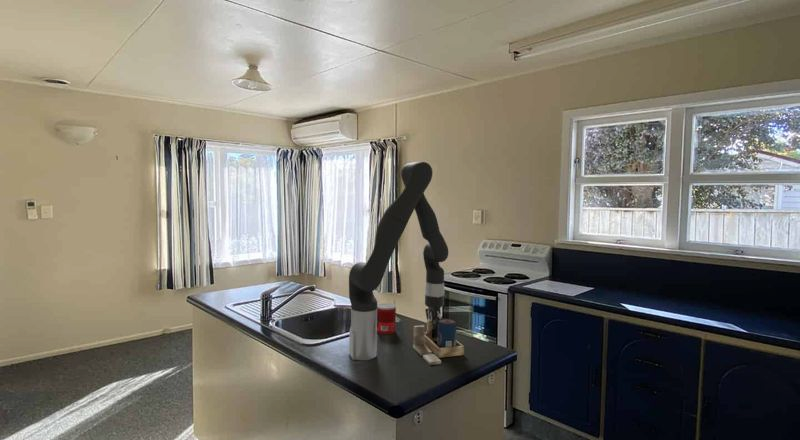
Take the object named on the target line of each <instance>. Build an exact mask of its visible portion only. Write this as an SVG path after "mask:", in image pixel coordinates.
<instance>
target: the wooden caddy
mask: <svg viewBox="0 0 800 440" xmlns="http://www.w3.org/2000/svg"><path fill="white" fill-rule="evenodd" d="M434 324H435V323H434ZM435 342H437V338H432V323H431V319H427V318H426V332H425V334H424V345H425V346H426V347H427V348H428V349H429V350H430V351H431V352H432V354H434V355H436V356H437V357H438V358H439V359H440V358H447V357H448V358H449V357H458V356H464V355H465V346H464V345H463V344H462V343H461V342H459V341H458V340H457V339H456V346H455V347H445V348H439V347H438V346H437V343H435Z"/></svg>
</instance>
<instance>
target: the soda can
mask: <svg viewBox="0 0 800 440" xmlns="http://www.w3.org/2000/svg"><path fill="white" fill-rule="evenodd" d="M456 340H457V323H456V321H455V320H454V319H452V318H443V319H440V320H439V323H438V330H437V341H436V345H437V346H438V347H439V348H445V347H455V346H456Z"/></svg>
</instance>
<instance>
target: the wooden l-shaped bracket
mask: <svg viewBox="0 0 800 440" xmlns="http://www.w3.org/2000/svg"><path fill="white" fill-rule="evenodd" d="M425 331H426V330H425V325H423V324H422V325H414V326H413V345H412V348H413V349H414V350H415V351H416V352H417V353H418V354H419V355H420V357H421V356H422V359H423V360H424V361H425V362H426V363H427V364H428V365H429V366H433V365H441V364H442V360H441V359H440V358H438V357H437V356H436V355H435V354H434V353H433V352H432V351H431V350H430V349H429V348H428V347H427V346H426V345H425V344H424V334H425Z"/></svg>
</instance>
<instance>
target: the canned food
mask: <svg viewBox="0 0 800 440" xmlns="http://www.w3.org/2000/svg"><path fill="white" fill-rule="evenodd" d="M396 314H397V308H396V304H394V303H386V302H385V303H380V304H377V334H381V335H391V334H393V333H395V332H396V318H397V317H396V316H397V315H396Z"/></svg>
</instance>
